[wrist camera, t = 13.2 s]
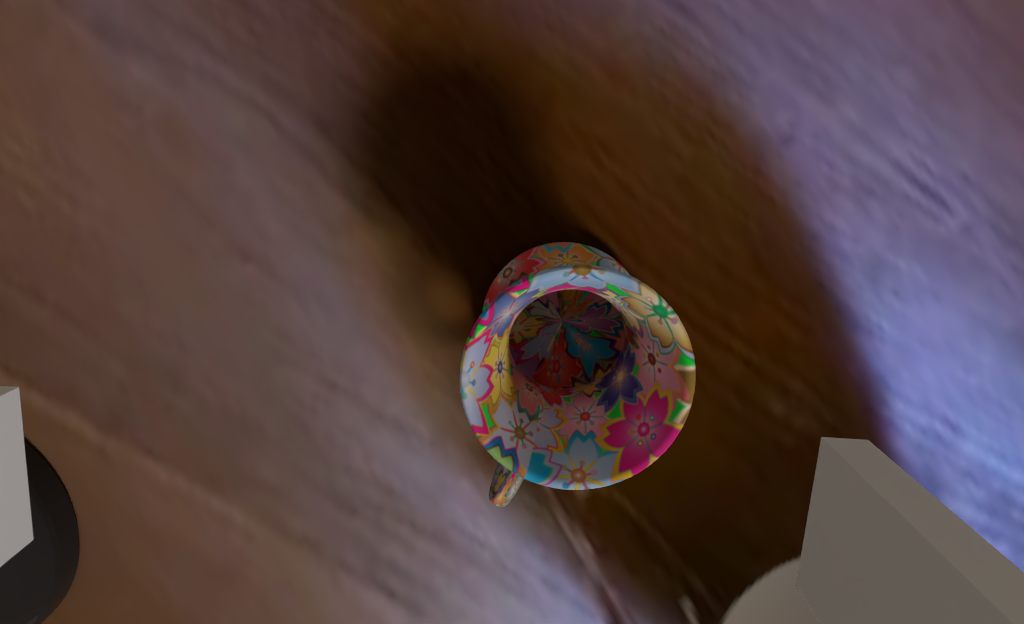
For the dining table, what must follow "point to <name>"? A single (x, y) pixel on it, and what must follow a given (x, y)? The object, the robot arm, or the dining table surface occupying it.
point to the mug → (574, 372)
